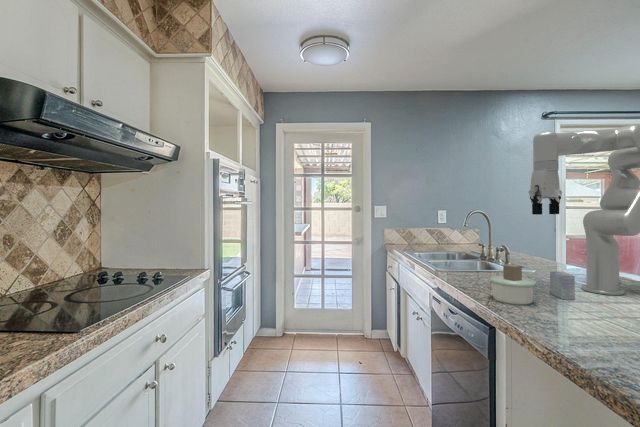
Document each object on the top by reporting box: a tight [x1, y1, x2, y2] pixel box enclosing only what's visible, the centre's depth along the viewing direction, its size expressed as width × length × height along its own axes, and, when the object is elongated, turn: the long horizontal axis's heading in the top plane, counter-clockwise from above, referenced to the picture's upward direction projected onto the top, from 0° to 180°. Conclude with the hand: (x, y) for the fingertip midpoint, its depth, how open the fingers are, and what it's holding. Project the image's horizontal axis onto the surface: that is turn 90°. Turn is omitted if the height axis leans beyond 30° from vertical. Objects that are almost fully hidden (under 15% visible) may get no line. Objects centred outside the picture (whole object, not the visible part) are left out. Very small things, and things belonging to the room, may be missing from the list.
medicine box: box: [549, 271, 576, 301], centre depth 116 cm, size 8×4×9 cm, turn 168°
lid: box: [489, 264, 537, 288], centre depth 112 cm, size 14×14×6 cm
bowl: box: [492, 283, 534, 306], centre depth 113 cm, size 12×12×6 cm
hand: (545, 214), depth 115 cm, fingers open, 9 cm apart
